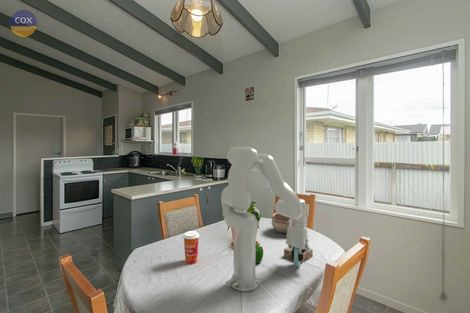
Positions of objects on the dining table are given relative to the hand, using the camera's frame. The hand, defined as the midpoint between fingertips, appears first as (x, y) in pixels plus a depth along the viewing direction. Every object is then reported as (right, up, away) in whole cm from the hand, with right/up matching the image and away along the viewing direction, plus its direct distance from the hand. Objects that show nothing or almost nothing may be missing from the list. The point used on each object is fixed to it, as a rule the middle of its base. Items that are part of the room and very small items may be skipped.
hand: (297, 259), depth 122 cm
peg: (0, -3, 0) cm, 3 cm away
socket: (+3, -3, +10) cm, 11 cm away
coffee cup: (-54, -3, +4) cm, 55 cm away
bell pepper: (-21, -3, +4) cm, 22 cm away
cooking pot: (+4, -1, +46) cm, 46 cm away
